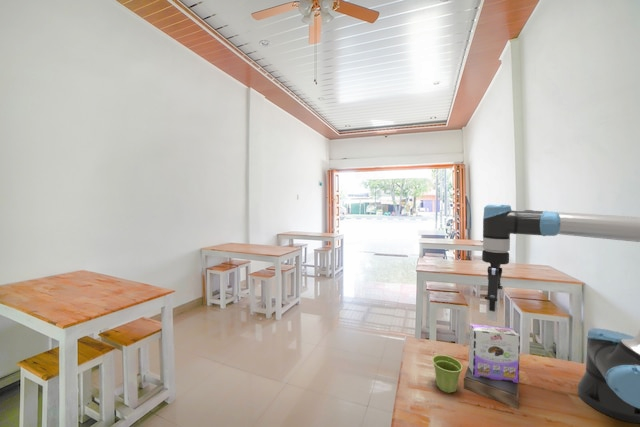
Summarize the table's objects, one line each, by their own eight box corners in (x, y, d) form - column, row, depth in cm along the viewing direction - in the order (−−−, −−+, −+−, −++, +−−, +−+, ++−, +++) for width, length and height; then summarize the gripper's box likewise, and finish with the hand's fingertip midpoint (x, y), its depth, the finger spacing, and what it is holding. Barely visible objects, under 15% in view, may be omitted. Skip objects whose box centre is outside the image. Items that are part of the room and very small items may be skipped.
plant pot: (463, 384, 93) (463, 360, 93) (460, 401, 85) (461, 375, 85) (434, 374, 98) (435, 352, 98) (429, 389, 90) (430, 365, 90)
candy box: (511, 373, 93) (513, 327, 92) (519, 384, 87) (521, 335, 87) (467, 366, 97) (469, 322, 96) (472, 376, 91) (474, 329, 90)
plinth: (518, 392, 89) (518, 380, 89) (518, 408, 82) (518, 396, 82) (467, 374, 98) (468, 364, 98) (463, 387, 91) (464, 376, 91)
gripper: (486, 245, 101) (484, 300, 101) (477, 254, 81) (475, 323, 82) (510, 247, 96) (508, 304, 97) (508, 258, 76) (505, 330, 77)
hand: (493, 313), depth 89 cm, fingers open, 13 cm apart
